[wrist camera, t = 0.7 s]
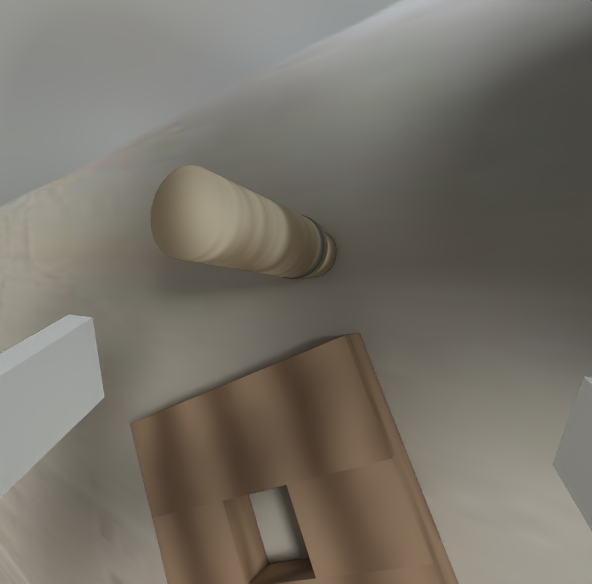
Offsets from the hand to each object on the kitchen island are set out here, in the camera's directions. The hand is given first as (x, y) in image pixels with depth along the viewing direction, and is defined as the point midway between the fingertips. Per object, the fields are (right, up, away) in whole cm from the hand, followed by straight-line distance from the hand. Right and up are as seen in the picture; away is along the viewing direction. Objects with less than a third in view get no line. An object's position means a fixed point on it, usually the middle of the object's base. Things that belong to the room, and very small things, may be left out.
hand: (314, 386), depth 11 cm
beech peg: (+1, +6, +20) cm, 21 cm away
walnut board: (-1, -15, +20) cm, 25 cm away
